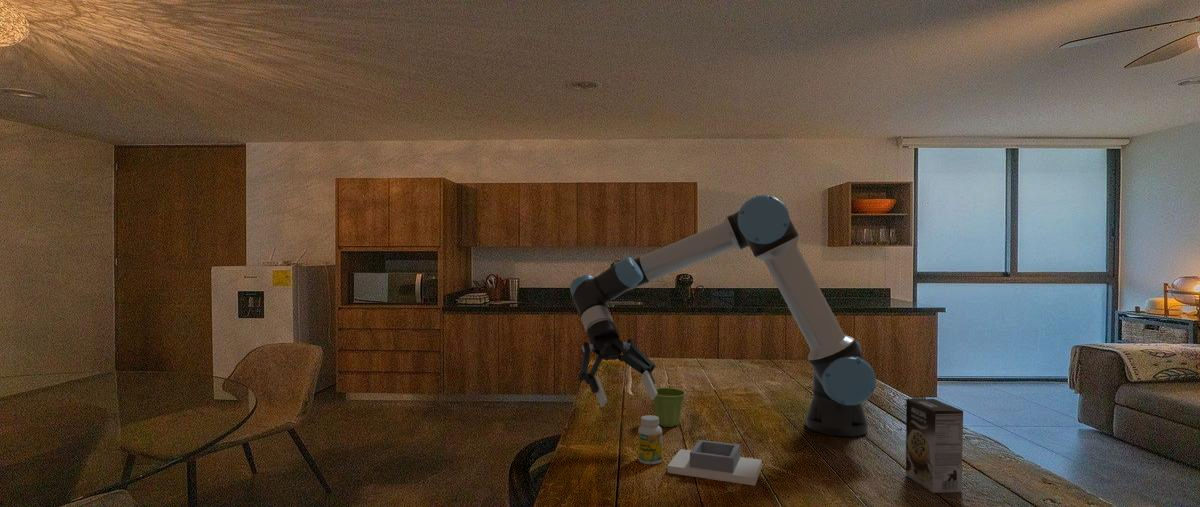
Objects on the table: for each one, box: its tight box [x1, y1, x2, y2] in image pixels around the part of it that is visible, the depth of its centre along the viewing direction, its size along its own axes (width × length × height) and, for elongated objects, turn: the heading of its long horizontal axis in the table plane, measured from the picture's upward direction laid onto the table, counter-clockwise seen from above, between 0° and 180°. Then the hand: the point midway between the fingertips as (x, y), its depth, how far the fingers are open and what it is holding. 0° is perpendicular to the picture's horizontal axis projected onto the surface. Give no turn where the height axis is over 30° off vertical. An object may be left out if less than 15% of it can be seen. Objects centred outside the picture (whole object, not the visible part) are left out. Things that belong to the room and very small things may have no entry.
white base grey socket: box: [667, 439, 763, 487], centre depth 126 cm, size 18×11×4 cm, turn 68°
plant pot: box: [653, 387, 687, 428], centre depth 159 cm, size 9×9×9 cm
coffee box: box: [905, 398, 964, 494], centre depth 119 cm, size 9×6×16 cm
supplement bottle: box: [637, 414, 663, 465], centre depth 132 cm, size 5×5×10 cm
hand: (629, 400), depth 138 cm, fingers open, 13 cm apart
